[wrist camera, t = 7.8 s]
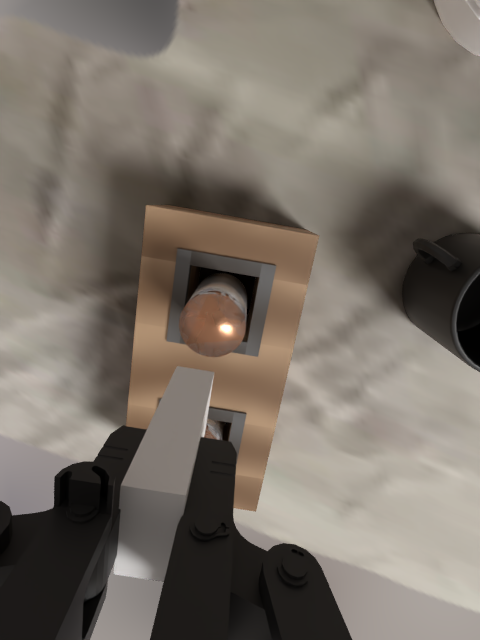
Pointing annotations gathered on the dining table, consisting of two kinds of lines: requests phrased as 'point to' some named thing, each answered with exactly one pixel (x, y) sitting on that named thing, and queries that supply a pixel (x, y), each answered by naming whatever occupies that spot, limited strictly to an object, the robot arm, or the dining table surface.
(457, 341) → the mug
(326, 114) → the dining table surface
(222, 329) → the peg
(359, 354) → the dining table surface
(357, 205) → the dining table surface
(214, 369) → the socket block
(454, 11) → the honey pot
